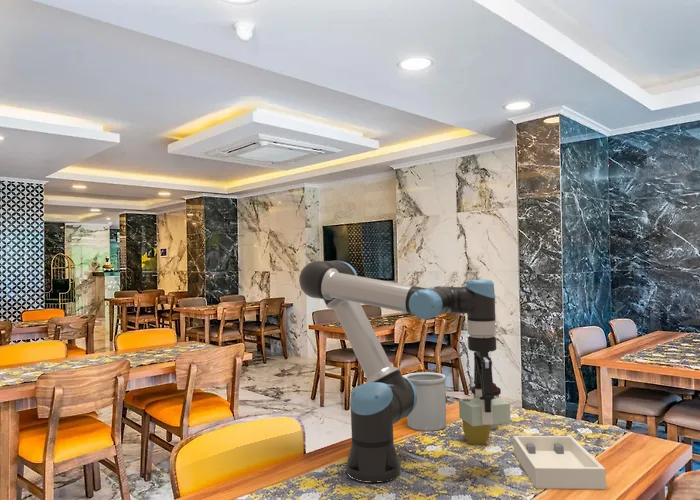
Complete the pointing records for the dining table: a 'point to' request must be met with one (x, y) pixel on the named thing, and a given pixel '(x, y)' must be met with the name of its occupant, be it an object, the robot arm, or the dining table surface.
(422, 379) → the utensil holder
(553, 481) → the tray
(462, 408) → the dotted green block
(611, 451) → the dining table surface
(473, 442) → the flower pot
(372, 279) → the robot arm
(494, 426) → the coffee cup
